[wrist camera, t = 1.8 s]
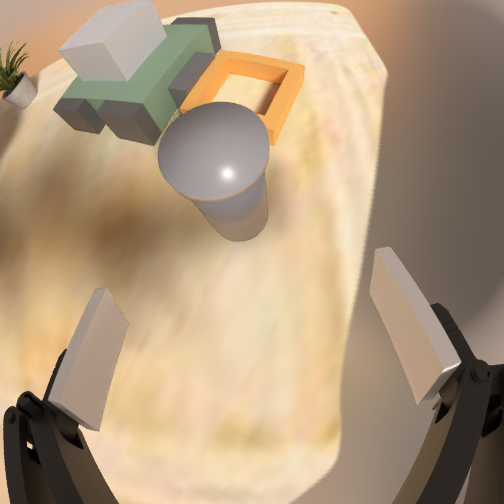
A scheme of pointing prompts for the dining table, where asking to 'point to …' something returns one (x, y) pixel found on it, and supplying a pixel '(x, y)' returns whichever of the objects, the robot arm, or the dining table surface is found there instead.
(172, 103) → the green corner-block plate
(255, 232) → the grey flared cylinder
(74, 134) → the dining table surface
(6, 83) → the house plant
